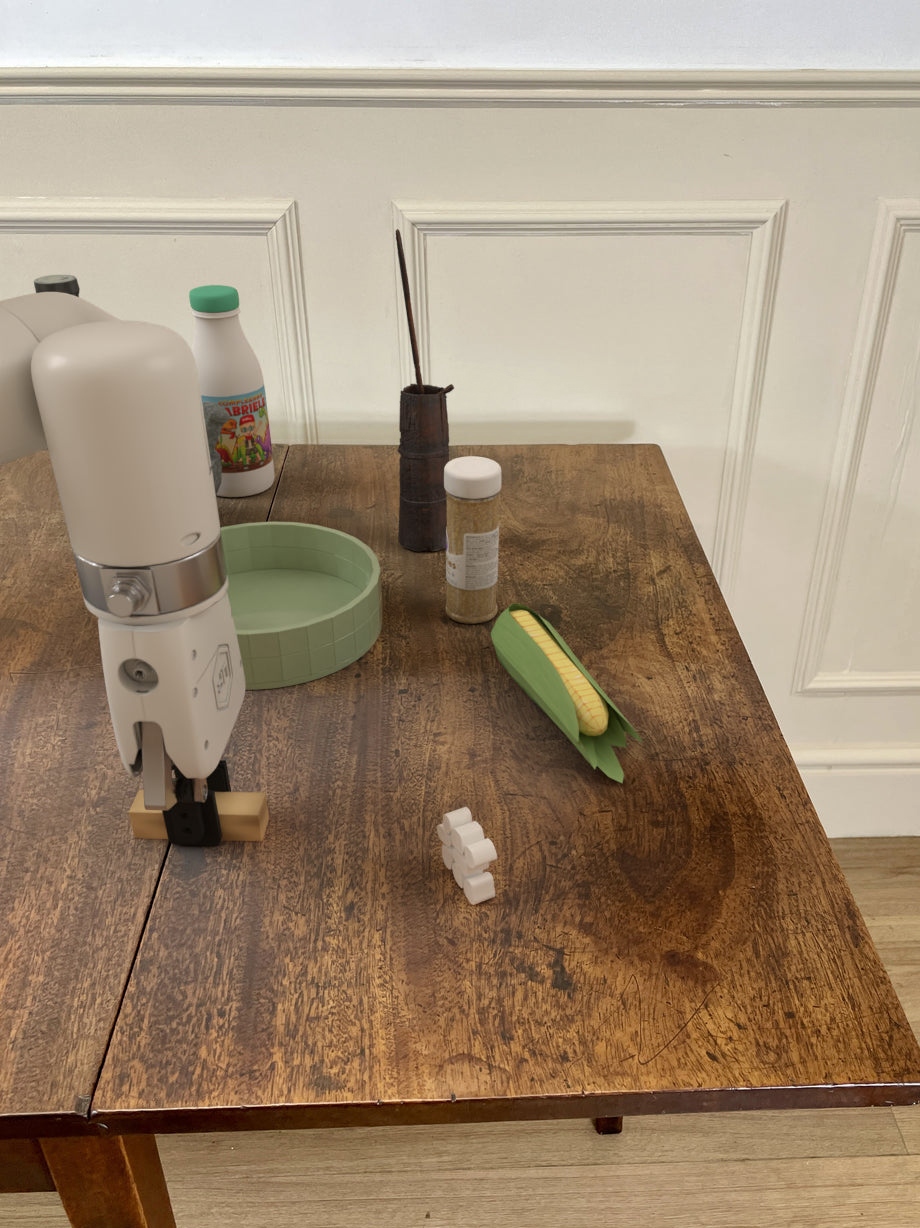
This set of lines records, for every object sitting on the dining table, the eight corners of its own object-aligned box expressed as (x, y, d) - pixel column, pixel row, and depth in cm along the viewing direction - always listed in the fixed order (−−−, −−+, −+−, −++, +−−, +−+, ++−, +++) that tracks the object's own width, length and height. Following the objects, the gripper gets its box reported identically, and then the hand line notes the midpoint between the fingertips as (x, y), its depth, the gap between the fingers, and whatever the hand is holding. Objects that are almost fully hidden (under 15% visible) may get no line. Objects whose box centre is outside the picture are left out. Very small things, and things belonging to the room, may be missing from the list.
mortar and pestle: (122, 550, 97) (97, 426, 91) (127, 509, 105) (104, 392, 98) (245, 539, 100) (230, 418, 93) (241, 500, 107) (226, 385, 101)
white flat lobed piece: (496, 901, 61) (497, 845, 59) (474, 909, 61) (475, 853, 58) (457, 849, 65) (457, 794, 62) (437, 857, 64) (436, 802, 62)
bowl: (113, 686, 79) (101, 630, 76) (183, 568, 95) (174, 518, 92) (367, 693, 79) (363, 637, 76) (393, 574, 95) (391, 524, 92)
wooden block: (269, 818, 67) (265, 792, 66) (262, 841, 65) (258, 815, 64) (145, 815, 67) (139, 789, 66) (134, 838, 65) (128, 812, 64)
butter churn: (492, 524, 104) (497, 223, 89) (473, 566, 96) (475, 245, 81) (403, 515, 105) (393, 217, 90) (377, 556, 98) (361, 238, 82)
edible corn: (534, 637, 86) (536, 589, 84) (655, 779, 71) (662, 726, 68) (477, 649, 84) (477, 600, 82) (588, 797, 69) (593, 743, 67)
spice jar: (440, 602, 90) (438, 456, 83) (491, 597, 92) (493, 452, 84) (451, 629, 87) (450, 478, 79) (504, 623, 88) (508, 473, 80)
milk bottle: (185, 487, 110) (154, 290, 99) (240, 465, 115) (216, 276, 104) (236, 505, 106) (209, 303, 95) (290, 482, 112) (271, 288, 100)
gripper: (182, 647, 49) (232, 922, 59) (255, 506, 62) (285, 750, 72) (22, 643, 49) (100, 918, 59) (130, 503, 62) (178, 748, 72)
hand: (202, 824), depth 66 cm, fingers closed on wooden block, 2 cm apart
